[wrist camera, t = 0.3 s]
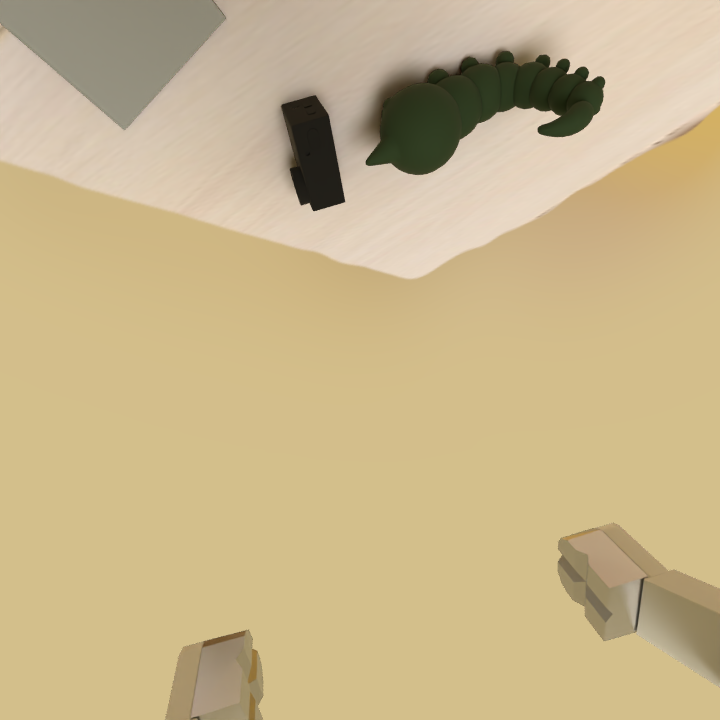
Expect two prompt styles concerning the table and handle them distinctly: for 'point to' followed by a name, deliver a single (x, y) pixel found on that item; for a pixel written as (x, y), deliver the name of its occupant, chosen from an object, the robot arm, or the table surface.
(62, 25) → the mat
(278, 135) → the table surface
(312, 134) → the digital camera
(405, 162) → the toy figurine
